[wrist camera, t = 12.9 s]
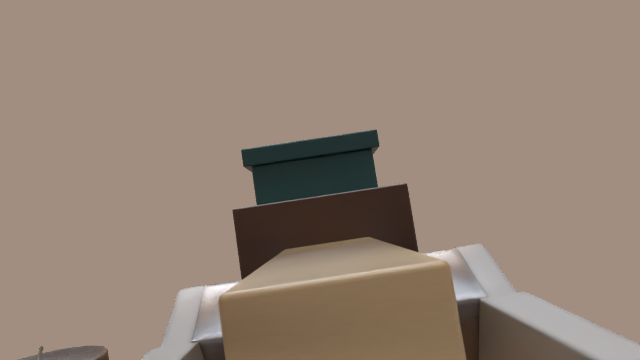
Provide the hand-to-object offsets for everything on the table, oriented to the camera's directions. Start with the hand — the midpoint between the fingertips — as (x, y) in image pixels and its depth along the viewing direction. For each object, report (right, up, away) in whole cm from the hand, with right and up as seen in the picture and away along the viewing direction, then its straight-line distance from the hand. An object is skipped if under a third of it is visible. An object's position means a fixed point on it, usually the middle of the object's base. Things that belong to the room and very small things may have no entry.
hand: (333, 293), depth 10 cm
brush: (0, -2, +5) cm, 5 cm away
